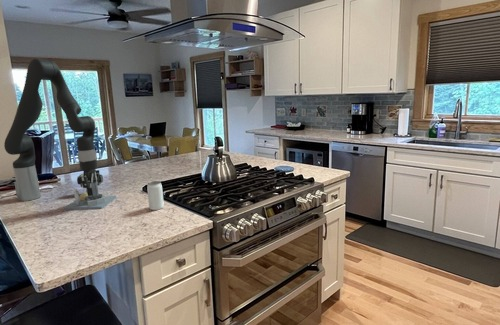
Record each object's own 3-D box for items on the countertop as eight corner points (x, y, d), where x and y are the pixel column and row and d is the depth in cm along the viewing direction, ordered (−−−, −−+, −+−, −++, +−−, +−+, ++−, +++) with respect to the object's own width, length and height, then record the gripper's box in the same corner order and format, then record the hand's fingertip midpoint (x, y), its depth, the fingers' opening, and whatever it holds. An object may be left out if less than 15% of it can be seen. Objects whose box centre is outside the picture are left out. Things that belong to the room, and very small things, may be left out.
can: (150, 211, 141) (148, 185, 138) (148, 207, 146) (145, 182, 144) (165, 208, 143) (162, 183, 141) (162, 204, 149) (159, 180, 147)
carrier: (63, 209, 146) (60, 192, 145) (81, 198, 162) (79, 182, 160) (101, 208, 146) (99, 191, 144) (116, 197, 162) (114, 181, 160)
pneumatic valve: (102, 193, 170) (99, 172, 167) (79, 195, 167) (75, 173, 165) (105, 190, 175) (102, 169, 172) (82, 192, 173) (79, 171, 170)
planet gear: (81, 201, 149) (78, 184, 147) (89, 195, 157) (87, 180, 155) (97, 200, 149) (95, 184, 147) (105, 195, 156) (103, 179, 155)
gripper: (87, 156, 156) (92, 189, 159) (71, 162, 142) (77, 198, 145) (102, 156, 155) (107, 189, 159) (87, 162, 142) (93, 198, 145)
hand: (92, 193), depth 152 cm, fingers closed on planet gear, 4 cm apart
